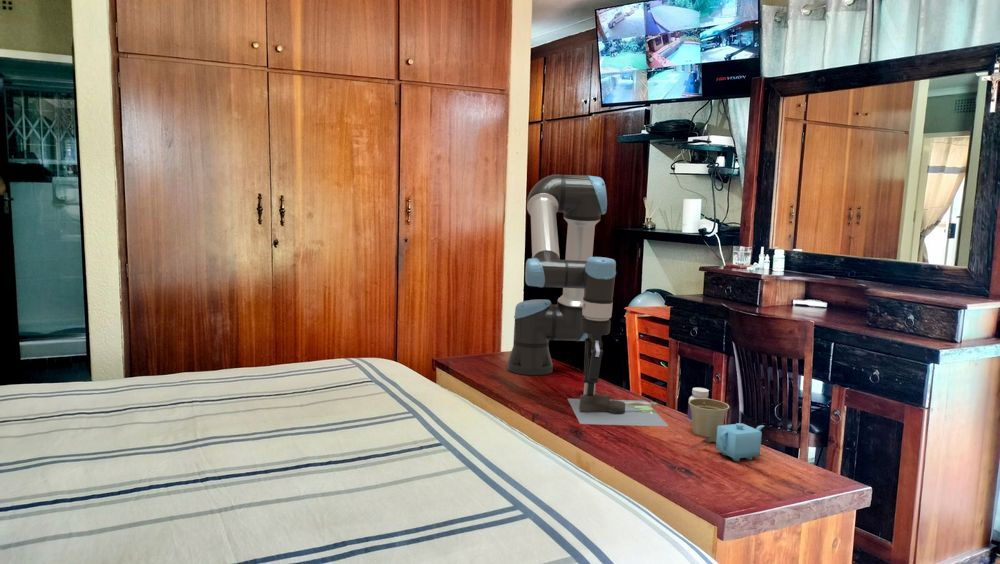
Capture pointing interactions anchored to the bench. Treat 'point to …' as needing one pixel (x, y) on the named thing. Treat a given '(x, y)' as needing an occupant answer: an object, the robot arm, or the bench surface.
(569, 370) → the bench surface
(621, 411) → the dark long piece
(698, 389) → the pill bottle
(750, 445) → the teapot
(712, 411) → the flower pot
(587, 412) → the tuner board
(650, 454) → the bench surface
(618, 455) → the bench surface
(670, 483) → the bench surface
